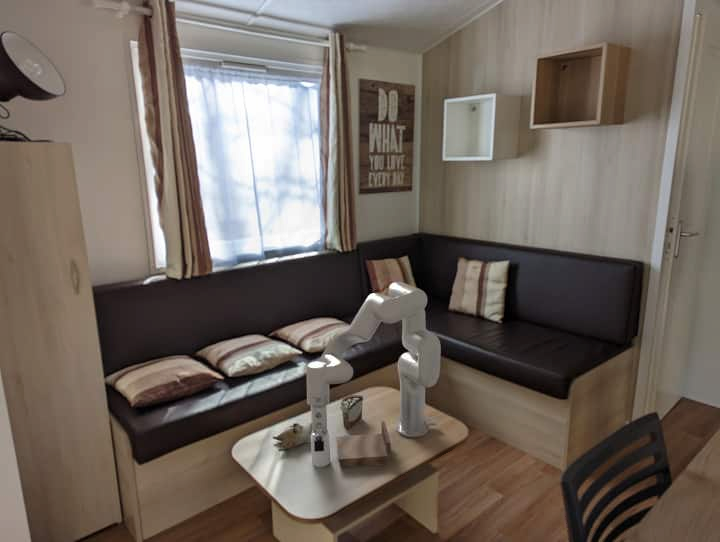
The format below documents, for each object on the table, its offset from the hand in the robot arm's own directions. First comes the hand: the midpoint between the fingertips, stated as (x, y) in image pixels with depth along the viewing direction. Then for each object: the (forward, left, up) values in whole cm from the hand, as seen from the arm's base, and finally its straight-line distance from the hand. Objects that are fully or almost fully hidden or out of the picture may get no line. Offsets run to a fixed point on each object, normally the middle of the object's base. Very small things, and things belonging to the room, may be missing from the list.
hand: (318, 442), depth 176 cm
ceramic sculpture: (+9, -13, -8) cm, 18 cm away
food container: (-13, -25, -8) cm, 29 cm away
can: (-1, 0, -8) cm, 8 cm away
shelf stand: (-16, -2, -8) cm, 18 cm away
